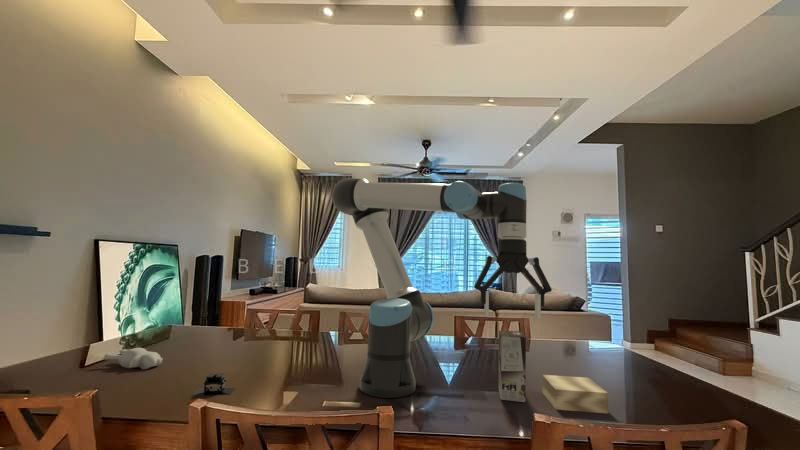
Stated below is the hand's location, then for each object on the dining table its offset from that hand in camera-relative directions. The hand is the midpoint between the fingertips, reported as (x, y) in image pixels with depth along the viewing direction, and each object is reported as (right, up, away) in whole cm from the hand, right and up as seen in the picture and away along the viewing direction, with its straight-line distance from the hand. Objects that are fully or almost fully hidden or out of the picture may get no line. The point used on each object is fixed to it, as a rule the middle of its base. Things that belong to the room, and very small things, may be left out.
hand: (512, 317), depth 99 cm
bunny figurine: (-111, -18, +12) cm, 113 cm away
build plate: (-77, -18, -7) cm, 80 cm away
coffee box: (-1, -20, -2) cm, 20 cm away
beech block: (+14, -21, -6) cm, 26 cm away
